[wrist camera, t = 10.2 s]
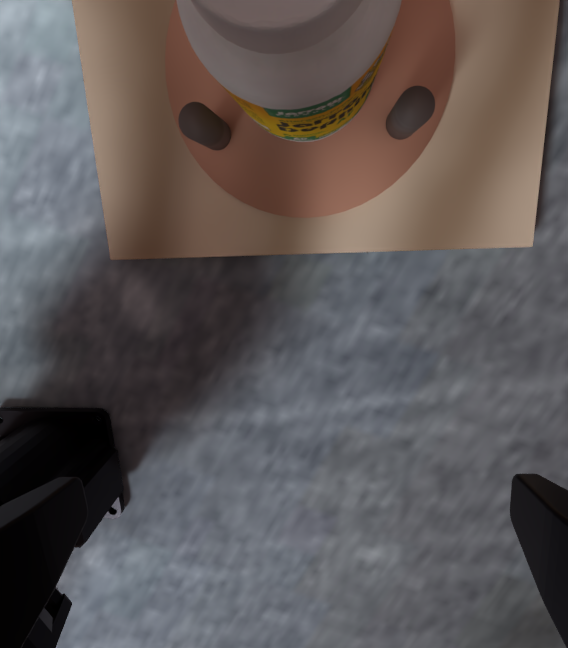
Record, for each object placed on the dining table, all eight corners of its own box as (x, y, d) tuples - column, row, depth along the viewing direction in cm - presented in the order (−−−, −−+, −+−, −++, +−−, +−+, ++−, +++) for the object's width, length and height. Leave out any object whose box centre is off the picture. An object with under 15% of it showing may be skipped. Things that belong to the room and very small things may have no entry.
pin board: (120, 257, 20) (71, 269, 16) (69, -106, 16) (-10, -201, 13) (521, 244, 18) (573, 254, 14) (564, -172, 15) (649, -307, 11)
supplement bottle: (327, -49, 15) (327, -446, 6) (402, 89, 16) (503, -68, 7) (207, 49, 16) (52, -153, 7) (283, 172, 17) (232, 134, 8)
